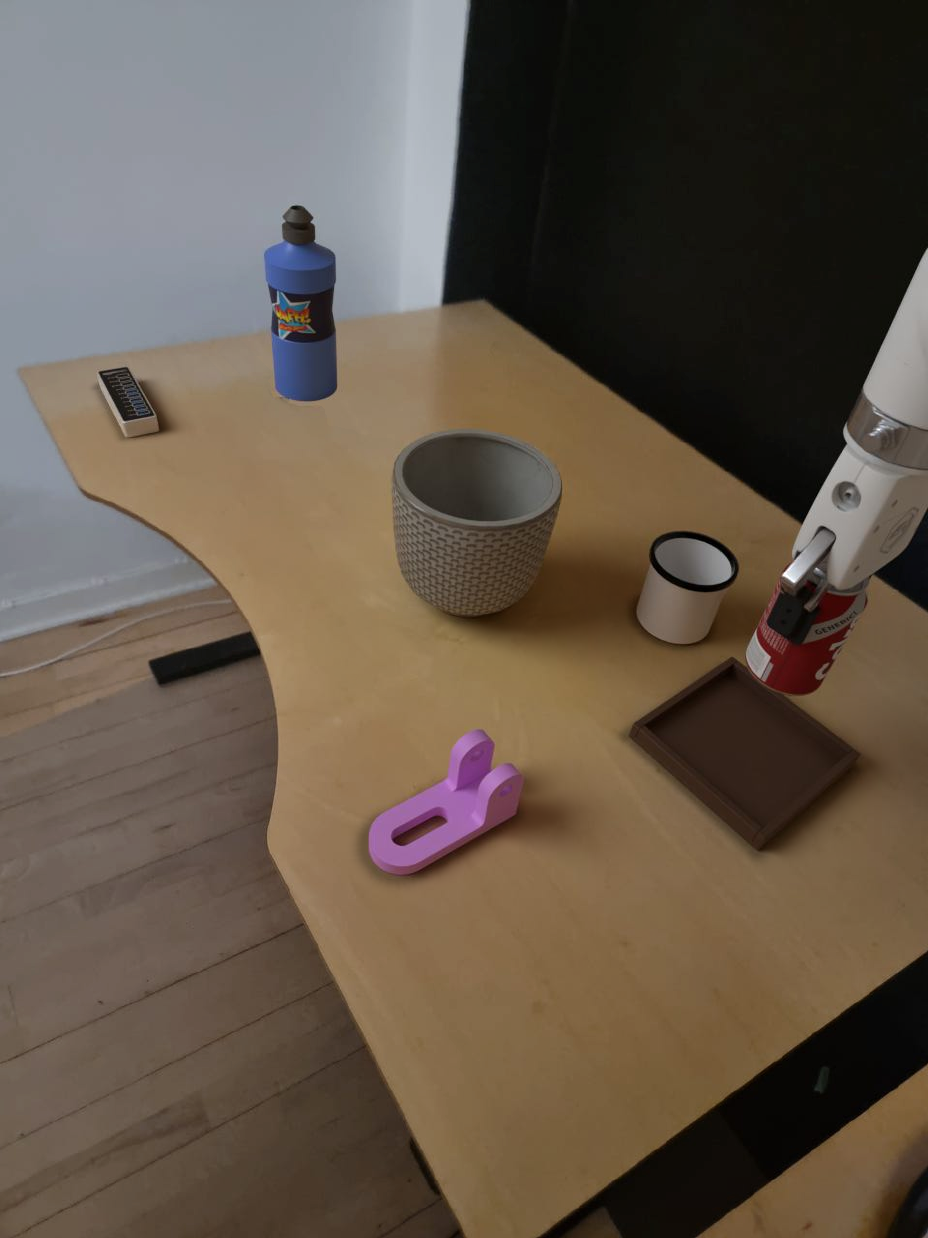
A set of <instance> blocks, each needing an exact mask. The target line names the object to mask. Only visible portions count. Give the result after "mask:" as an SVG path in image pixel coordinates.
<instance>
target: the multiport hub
mask: <svg viewBox="0 0 928 1238" xmlns="http://www.w3.org/2000/svg"><path fill="white" fill-rule="evenodd" d="M96 376H97V380H98V384H99V389H101V393H102V394H103V396H104V397H105V400H106V401H107V404H108V405H109V407H110V409H111V411H112V414H113V415H114V417H115V419H116V421H117V423H118V424H119V428H120V429H121V431H122V433H123V435H124V437H125V438H133V437H138V436H143V435H147V434H152V433H153V434H154V433H157V432H160V428H159V423H158V418H157V417H158V416H157V414H156V412H155V410H154V409H153V407H152V405H151V403H150V401H149V400H148V398H147V396H146V395H145V392H144V391H143V389H142V387H141V386H140V384H139V382H138V380H137V379H136V377H135V375H134V374H133V372H132V370H131V368H130V366H121V367H116V368H110V369H103V370H99V371H96Z"/></svg>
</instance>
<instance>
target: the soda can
mask: <svg viewBox="0 0 928 1238" xmlns="http://www.w3.org/2000/svg"><path fill="white" fill-rule="evenodd" d="M793 562H794V560H793V561H791V562H790V563H788V564H787V565H786V566H785V567H784V568H783V570H782V572H781V575H780V577H781V576H782V574H783V573H784V572H785V571H786V570H787V569H788V567H789V566H790V565H791V564H792V563H793ZM819 565H820V566H821V567H823V568H824V569H826V570H827V561H826V560H823V561H822V562H821V563H820V564H819ZM821 581H822V579H820V578H819V577H817V576H816V575H814V574H813V573H811V574H810V576H809V577H808V579H807V581H806V586H807V587H809V588H810V590H811V591H812V593H813V592H814V590H815V589H816V588H817V586H818V585H819V583H820V582H821ZM869 585H870V580H869V576H868V577H867V578H865V579H864V580H863V581H861V582H860V583H858V584H856V585H855V586H853V587H851V588H849V589H844V590H838V589H836V588H835V586H833V585H832V586H831V587H830V589H829V590H828V591H827V593H826V594H825V595H824V597H823V598H822V600H821V601H820V602H819V604H818V605H817V606H818V607H819V608H821V610H820V612H819V614H818V616H817V617H816V619H815V621H814V623H813V625H812V627H811V629H810V631H809V633H808V635H807V636H806V638H805V640H804V642H803V643H802V644H800V645H799V646H795V645H794V644H792V643H791V642H789V641H788V640H787V639H785V638H784V637H782V636H781V635H780V634H778V633H777V632H776V631H774V630H773V629H771V628H770V627H769V626H768V625H767V620H768V617H769V615H770V613H771V611H772V609H773V607H774V605H775V603H776V600H777V598H778V596H779V594H780V588H781V583H780V578H779V579H778V580H777V584H775V587H774V590H773V592H772V594H771V596H770V598H769V600H768V602H767V605H766V607H765V609H764V610H763V614H762V616H761V618H760V620H759V622H758V625H757V627H756V629H755V631H754V633H753V636H752V637H751V639H750V642H749V644H748V646H747V648H746V649H745V654H744V663H745V666H746V667H747V668H748V670H749V672H750V673H751V675H752V676H753V677H754V678H755V679H756V680H757V681H758V682H759V683H761V684H762V685H763V686H765V687H766V688H768V689H770V690H772V691H774V692H777V693H780V694H783V695H784V696H789V697H803V696H807V695H811V694H813V693H814V692H816V691H817V690H818V689H819V688H820V687H821V686H822V684H823V682H824V681H825V678H826V677H827V676H828V673H829V672H830V670H831V668H832V667H833V665H834V663H835V661H836V660H837V658H838V656H839V655H840V652H841V651H842V649H843V647H844V645H845V644H846V643H847V640H848V638H849V637H850V635H851V634H852V632H853V630H854V628H855V627H856V625H857V623H858V622H859V620H860V618H861V616H862V615H863V612H865V609H866V607H867V605H868V602H869V592H868V586H869Z"/></svg>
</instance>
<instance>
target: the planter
mask: <svg viewBox="0 0 928 1238" xmlns="http://www.w3.org/2000/svg"><path fill="white" fill-rule="evenodd" d="M390 480H391V481H390V484H391V485H390V486H391V488H390V489H391V491H390V492H391V506H392V507H391V509H392V526H393V527H392V528H393V538H394V547H395V554H396V558H397V559H396V560H397V564H398V566H399V570H400V573H401V575H402V577H403V579H404V581H405V583H406V584H407V587H408V588H409V589H410V590H411V591H412V592H413V593H414V594H415V595H416V596H417V597H418V598H419V599H421V600H422V601H424V602H425V603H427V605H430V606H432V607H434V608H435V609H438V610H440V611H441V612H443V613H445V614H448V615H450V616H454V617H457V618H458V617H459V618H475V617H476V618H477V617H482V616H484V615H488V614H493V613H497V612H500V611H502V610H505V609H507V608H508V607H510V606H512V605H514V604H516V603H517V602H518V601H520V600H521V599H522V598H523V597H524V596H525V595H526V593H527V592H528V591H529V590H530V589H531V587H532V586H533V584H534V582H535V580H536V578H537V576H538V574H539V572H540V570H541V568H542V565H543V563H544V559H545V556H546V553H547V551H548V548H549V545H550V542H551V541H550V540H551V538H552V536H553V531H554V528H555V525H556V521H557V518H558V515H559V512H560V511H559V510H560V506H561V501H562V498H563V480H562V477H561V473H560V471H559V470H558V468H557V466H556V465H555V463H554V462H553V461H552V460H551V459H550V458H549V457H548V456H547V455H546V454H545V453H544V452H543V451H541V450H540V449H538V448H537V447H535V446H534V445H533V444H530V443H528V442H526V441H524V440H522V439H520V438H518V437H514V436H512V435H509V434H504V433H502V432H497V431H494V430H493V431H492V430H488V429H487V430H486V429H479V428H478V429H476V428H457V429H448V430H442V431H438V432H434V433H433V432H432V433H429V434H427V435H425V436H422V437H420V438H418V439H416V440H414V441H413V442H410V443H409V444H408V445H406V446H405V447H404V448H403V449H402V451H400V453H399V454H398V455H397V457H396V458H395V461H394V463H393V467H392V473H391V479H390Z"/></svg>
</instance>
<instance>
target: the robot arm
mask: <svg viewBox="0 0 928 1238" xmlns="http://www.w3.org/2000/svg"><path fill="white" fill-rule="evenodd" d="M842 434H843V438H844V440H845V442H846V445H845V447H843V449H842V452H841V453H840V455H839V456H838V458H837V460H836V461H835V463H834V464H833V466H832V468H831V470H830V472H829V474H828V475H827V476H826V479H825V481H824V482H823V485H822V486H821V488H820V490H819V491H818V494H817V496H816V497H815V499H814V501H813V503H812V505H811V507H810V508H809V511H808V513H807V515H806V517H805V519H804V521H803V523H802V525H801V527H800V530H799V531H798V533H797V536H796V539H795V541H794V544H793V546H792V550H791V557H792V560H793V561H794V562H793V561H792V562H793V563H792V564H791V565H790V566H789V567H788V569H787V570H786V571H785V572H784V573H783V574H782V573H781V575H782V576H781V575H780V577H779V579H780V583H781V588H780V594H779V596H778V598H777V600H776V603H775V605H774V607H773V609H772V611H771V613H770V615H769V617H768V620H767V625H768V626H769V627H770V628H771V629H773V630H774V631H776V632H777V633H778V634H780V635H781V636H782V637H784V638H785V639H787V640H788V641H789V642H791V643H792V644H794V645H795V646H799V645H800V644H802V643H803V642H804V640H805V638H806V636H807V635H808V633H809V631H810V629H811V627H812V625H813V623H814V621H815V619H816V617H817V616H818V614H819V612H820V610H821V608H819V607H818V606H817V605H818V604H819V602H820V601H821V600H822V598H823V597H824V595H825V594H826V593H827V591H828V590H829V589H830V587H831V586H832V585H833V586H835V588H836V589H838V590H844V589H849V588H851V587H853V586H855V585H856V584H858V583H860V582H861V581H863V580H864V579H865V578H867V577H868V576H869V581H870V580H871V578H872V576H873V575H874V574H875V573H876V572H877V571H879V570H881V568H883V567H884V566H886V565H887V564H888V563H890V562H891V561H893V560H894V559H895V558H897V557H898V556H899V555H900V554H901V553H903V552H904V551H905V549H906V548H907V547H908V546H909V544H910V542H911V540H912V539H913V536H914V535H915V533H916V531H917V530H918V528H919V525H920V523H921V522H922V520H923V517H924V516H925V513H926V512H927V510H928V247H927V248H926V250H925V251H924V253H923V255H922V257H921V259H920V261H919V263H918V265H917V268H916V270H915V272H914V274H913V276H912V279H911V280H910V283H909V285H908V287H907V289H906V292H905V293H904V296H903V298H902V300H901V303H900V305H899V306H898V309H897V312H896V313H895V316H894V317H893V320H892V321H891V325H890V327H889V329H888V331H887V333H886V335H885V338H884V340H883V342H882V344H881V345H880V349H879V351H878V352H877V354H876V356H875V360H874V362H873V364H872V366H871V368H870V370H869V373H868V375H867V377H866V379H865V381H864V384H863V386H862V388H861V389H860V392H859V394H858V396H857V398H856V401H855V403H854V405H853V407H852V409H851V411H850V414H849V417H848V418H847V421H846V423H845V424H844V427H843V431H842ZM823 560H826V561H827V570H826V569H824V568H823V567H821V566H820V565H819V564H820V563H821V562H822V561H823ZM811 573H813V574H814V575H816V576H817V577H819V578H820V579H822V581H821V582H820V583H819V585H818V586H817V588H816V589H815V590H814V592H813V593H812V591H811V590H810V588H809V587H807V586H806V581H807V579H808V577H809V576H810V574H811Z"/></svg>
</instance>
